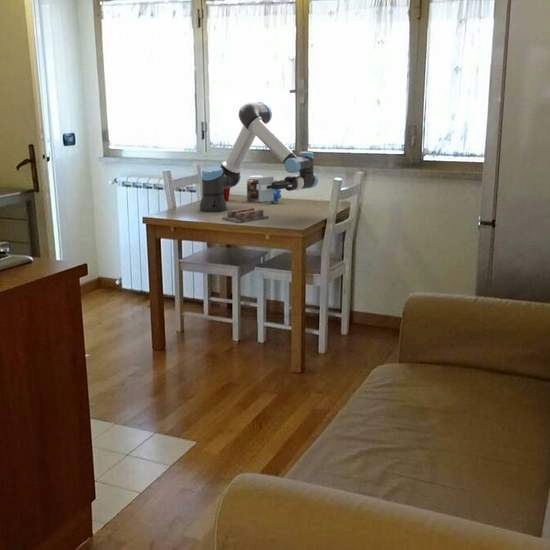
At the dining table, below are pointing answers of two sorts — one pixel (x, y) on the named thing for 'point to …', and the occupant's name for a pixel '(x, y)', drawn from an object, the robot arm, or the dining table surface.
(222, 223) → the dining table surface
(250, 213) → the slot rack
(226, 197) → the plastic cup
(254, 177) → the jar
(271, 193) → the pale grey panel
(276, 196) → the blue gear
